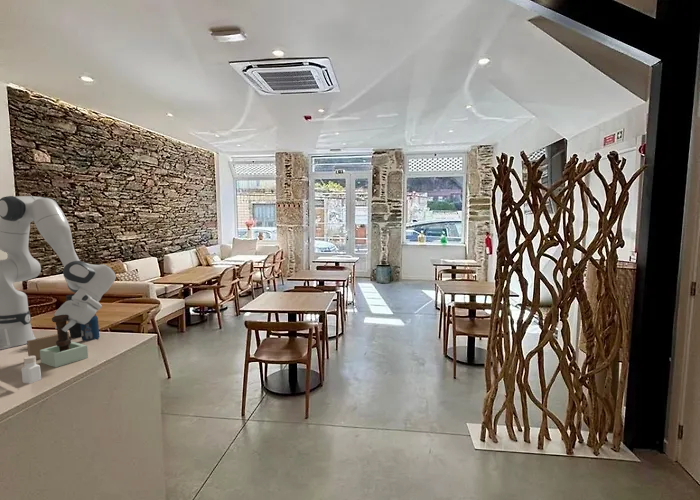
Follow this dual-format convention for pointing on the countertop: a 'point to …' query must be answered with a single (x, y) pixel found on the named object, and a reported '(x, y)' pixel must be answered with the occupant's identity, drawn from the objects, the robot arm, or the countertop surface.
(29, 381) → the pepper shaker
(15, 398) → the countertop surface
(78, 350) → the socket block
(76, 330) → the travel mug
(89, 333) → the soda can
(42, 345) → the backstop board
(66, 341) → the bolt
